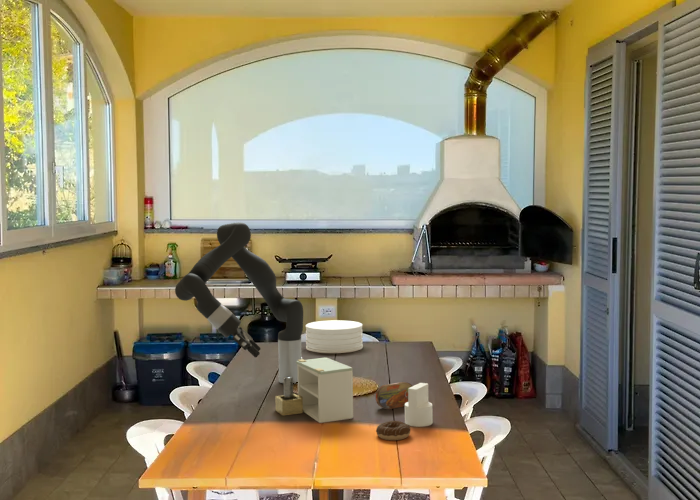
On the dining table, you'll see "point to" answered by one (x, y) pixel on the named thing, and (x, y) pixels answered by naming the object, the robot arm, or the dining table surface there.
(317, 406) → the cabinet
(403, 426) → the donut
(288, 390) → the hinge pin
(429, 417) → the cylinder with rectangular tab
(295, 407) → the tan open box
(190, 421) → the dining table surface
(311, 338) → the plate stack
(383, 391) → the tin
